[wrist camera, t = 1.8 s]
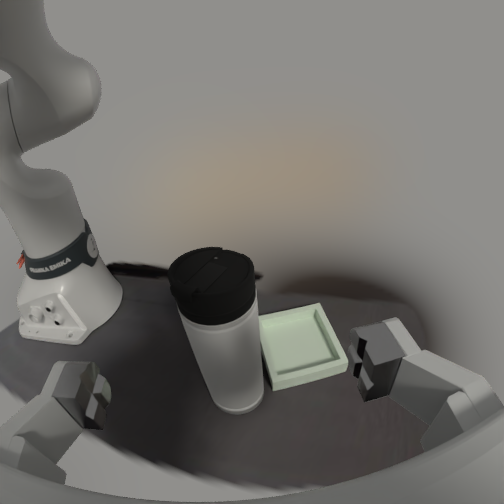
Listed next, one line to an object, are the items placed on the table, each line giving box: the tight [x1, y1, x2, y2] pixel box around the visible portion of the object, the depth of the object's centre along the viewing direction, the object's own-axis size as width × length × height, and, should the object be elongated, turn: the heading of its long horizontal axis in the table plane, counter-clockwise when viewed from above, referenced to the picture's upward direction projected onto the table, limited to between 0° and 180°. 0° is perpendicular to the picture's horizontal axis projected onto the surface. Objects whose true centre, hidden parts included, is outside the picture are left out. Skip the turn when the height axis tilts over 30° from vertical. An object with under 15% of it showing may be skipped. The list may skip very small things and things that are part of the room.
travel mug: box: [168, 247, 264, 414], centre depth 26 cm, size 6×7×20 cm
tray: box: [258, 303, 348, 391], centre depth 36 cm, size 9×10×2 cm
